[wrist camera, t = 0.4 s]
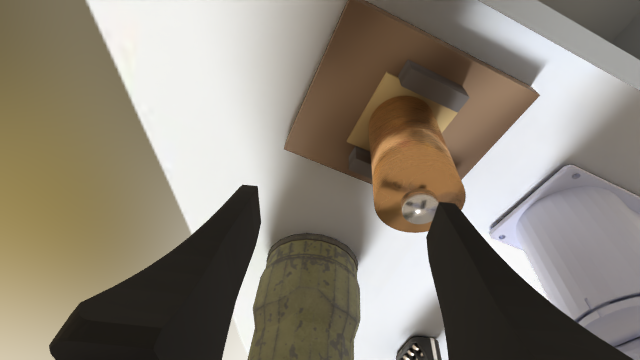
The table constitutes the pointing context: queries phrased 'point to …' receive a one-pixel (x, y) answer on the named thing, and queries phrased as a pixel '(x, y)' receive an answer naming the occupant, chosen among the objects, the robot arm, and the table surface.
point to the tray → (585, 30)
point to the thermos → (307, 301)
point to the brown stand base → (400, 92)
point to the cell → (410, 165)
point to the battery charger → (420, 349)
